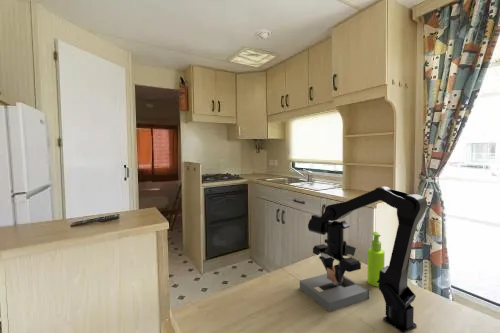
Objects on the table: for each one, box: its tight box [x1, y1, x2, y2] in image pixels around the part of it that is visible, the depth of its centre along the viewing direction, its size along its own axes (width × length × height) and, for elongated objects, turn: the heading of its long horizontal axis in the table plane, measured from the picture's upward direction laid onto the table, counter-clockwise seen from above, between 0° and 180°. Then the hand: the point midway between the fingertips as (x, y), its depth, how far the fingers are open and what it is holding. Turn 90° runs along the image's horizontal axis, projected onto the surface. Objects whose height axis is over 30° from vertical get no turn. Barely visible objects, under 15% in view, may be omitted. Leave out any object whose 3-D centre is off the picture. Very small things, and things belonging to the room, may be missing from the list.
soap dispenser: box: [367, 231, 386, 288], centre depth 97 cm, size 6×7×20 cm
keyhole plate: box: [299, 273, 370, 313], centre depth 90 cm, size 18×16×3 cm
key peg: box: [326, 265, 343, 289], centre depth 90 cm, size 4×4×8 cm
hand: (334, 279), depth 90 cm, fingers closed on key peg, 4 cm apart
